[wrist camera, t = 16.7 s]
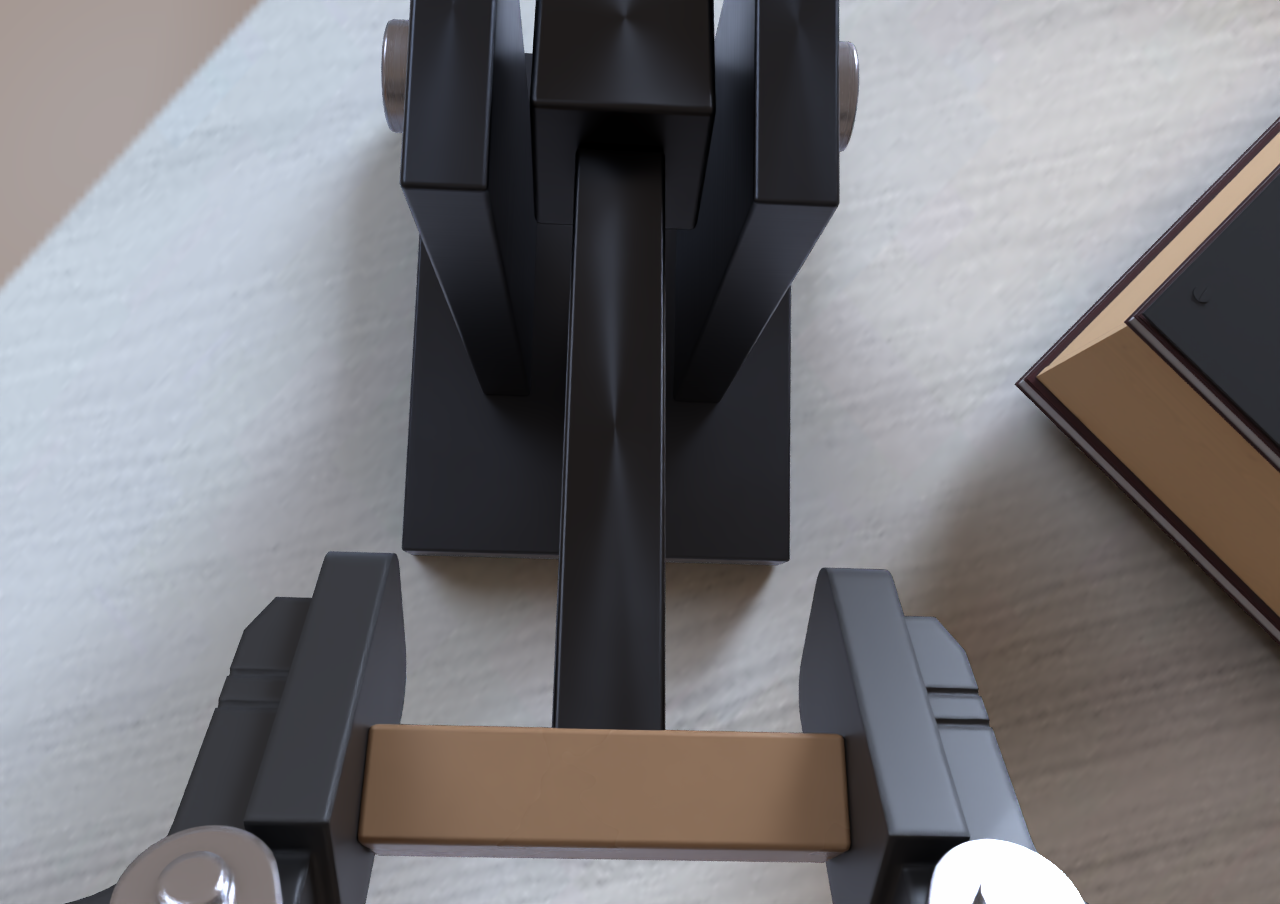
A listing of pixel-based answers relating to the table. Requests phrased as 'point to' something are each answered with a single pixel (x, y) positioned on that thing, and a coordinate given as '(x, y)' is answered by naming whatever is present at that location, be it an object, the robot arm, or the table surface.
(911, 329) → the table surface
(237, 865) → the robot arm
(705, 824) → the switch lever
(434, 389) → the black pivot stand
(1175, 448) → the book
